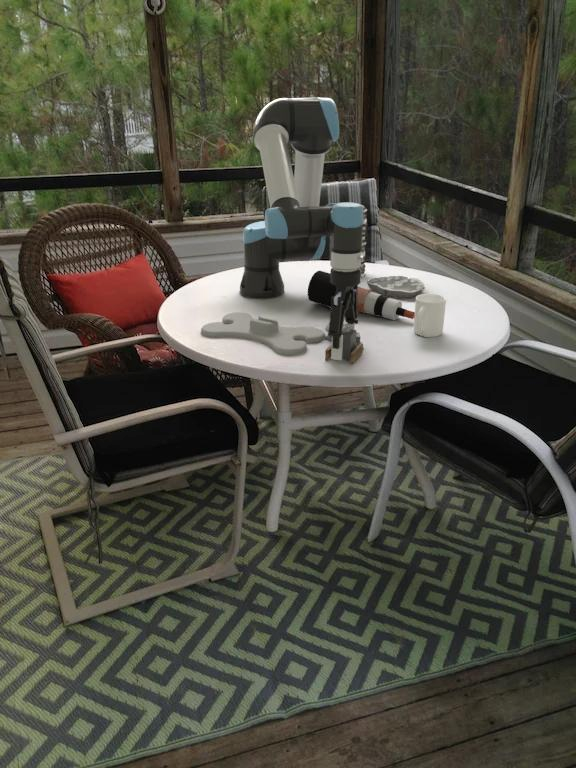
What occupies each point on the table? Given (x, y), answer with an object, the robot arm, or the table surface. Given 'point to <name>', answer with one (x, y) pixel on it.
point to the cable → (367, 299)
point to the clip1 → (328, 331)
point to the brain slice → (396, 286)
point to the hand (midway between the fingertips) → (342, 352)
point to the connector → (348, 342)
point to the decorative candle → (363, 243)
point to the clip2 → (358, 339)
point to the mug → (429, 315)
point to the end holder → (353, 355)
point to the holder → (264, 332)
